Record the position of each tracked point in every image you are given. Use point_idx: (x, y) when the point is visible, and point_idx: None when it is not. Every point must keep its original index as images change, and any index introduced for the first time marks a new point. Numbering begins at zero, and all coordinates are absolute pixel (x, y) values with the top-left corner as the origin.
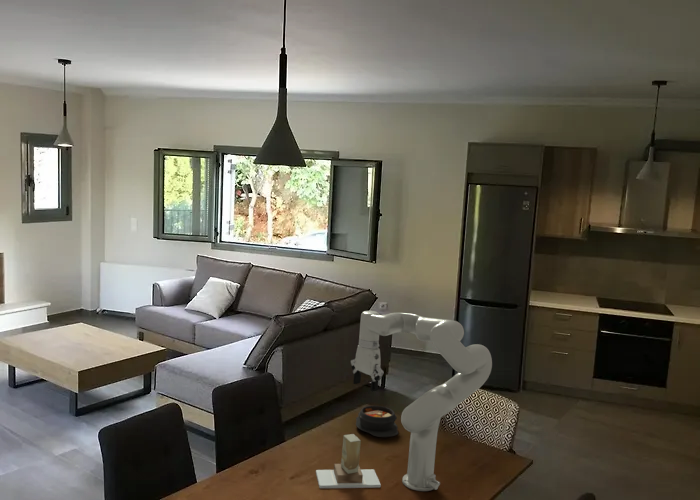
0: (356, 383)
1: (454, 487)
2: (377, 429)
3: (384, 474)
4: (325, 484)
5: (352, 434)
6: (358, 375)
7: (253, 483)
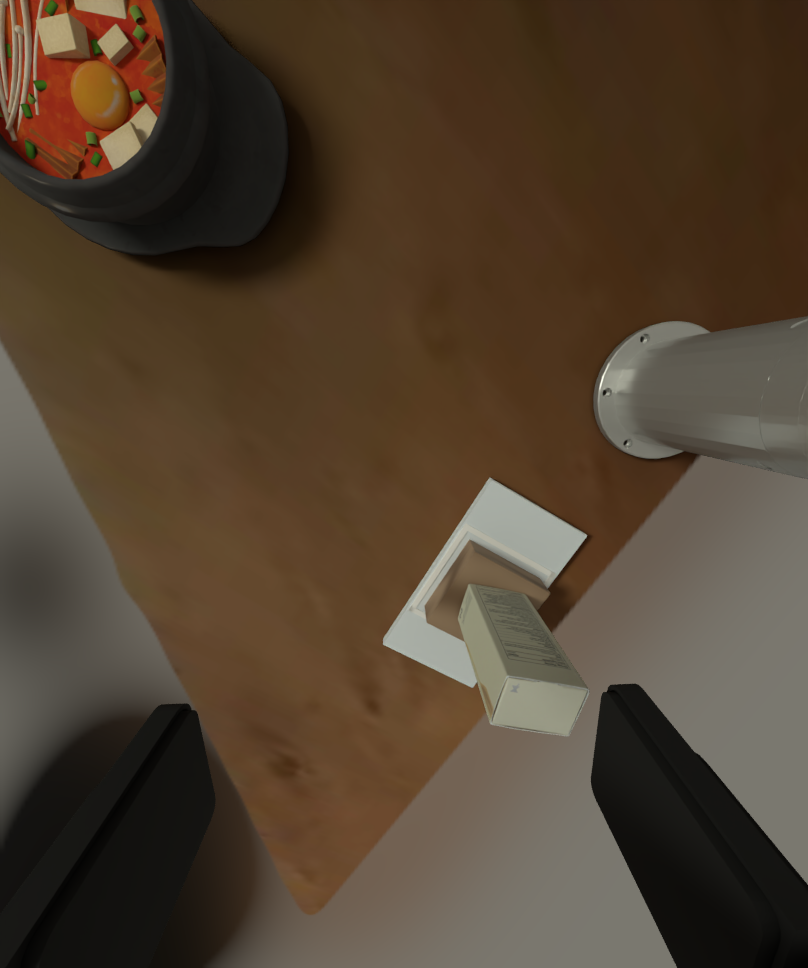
0: (208, 779)
1: (770, 293)
2: (200, 185)
3: (526, 456)
4: None
5: (511, 686)
6: (93, 959)
7: (348, 794)
